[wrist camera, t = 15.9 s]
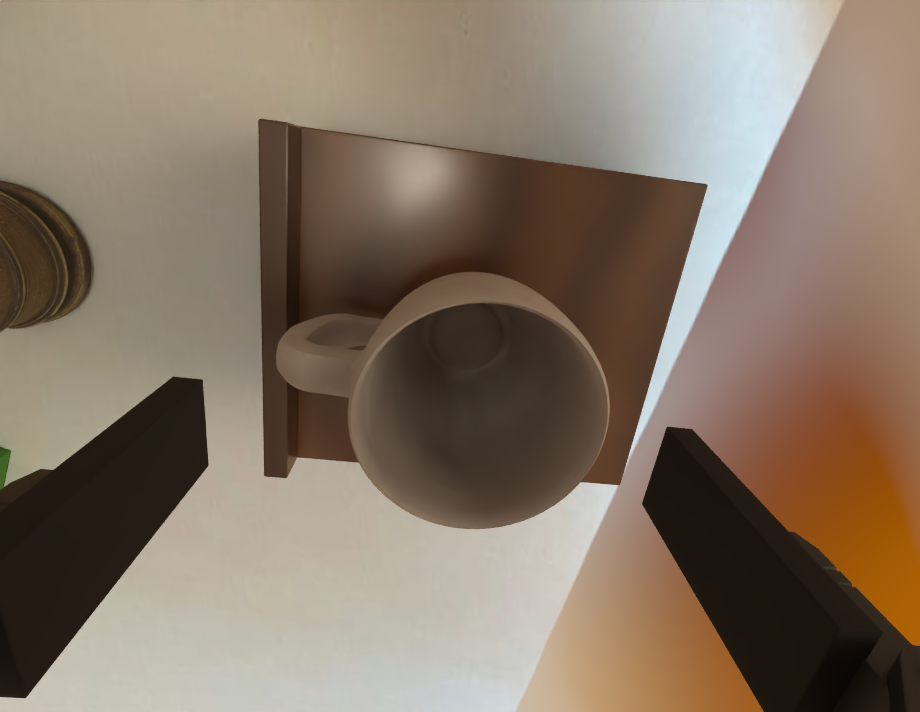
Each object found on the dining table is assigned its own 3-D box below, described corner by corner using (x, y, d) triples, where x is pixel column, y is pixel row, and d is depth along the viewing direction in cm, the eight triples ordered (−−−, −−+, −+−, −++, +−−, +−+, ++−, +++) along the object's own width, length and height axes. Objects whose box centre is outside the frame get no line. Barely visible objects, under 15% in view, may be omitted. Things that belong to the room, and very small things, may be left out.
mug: (571, 266, 24) (650, 324, 15) (526, 421, 27) (570, 548, 18) (326, 215, 23) (251, 246, 14) (308, 384, 26) (237, 501, 17)
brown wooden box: (634, 180, 31) (732, 185, 21) (578, 413, 37) (632, 507, 27) (321, 136, 30) (257, 118, 19) (315, 387, 36) (263, 476, 25)
